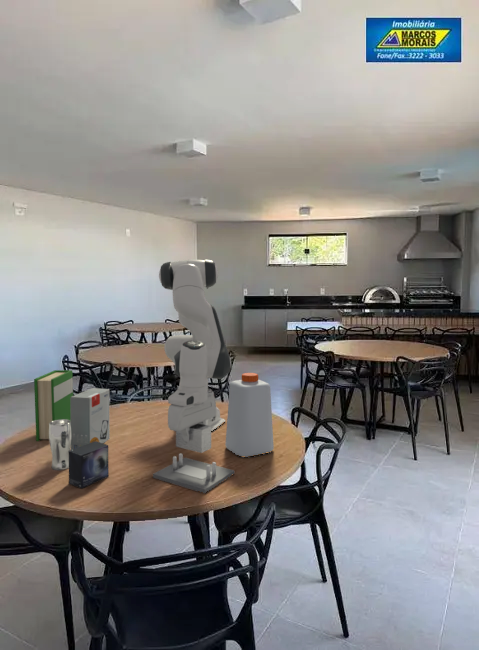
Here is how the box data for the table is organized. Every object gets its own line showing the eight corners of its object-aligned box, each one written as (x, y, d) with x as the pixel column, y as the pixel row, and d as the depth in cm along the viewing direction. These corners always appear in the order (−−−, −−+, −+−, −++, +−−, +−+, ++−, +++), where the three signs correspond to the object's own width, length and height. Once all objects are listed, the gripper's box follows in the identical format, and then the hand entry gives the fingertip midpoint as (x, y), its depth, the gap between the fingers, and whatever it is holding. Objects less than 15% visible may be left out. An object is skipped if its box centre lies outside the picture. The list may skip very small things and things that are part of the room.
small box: (82, 489, 134) (81, 455, 133) (67, 484, 137) (66, 450, 136) (110, 476, 143) (109, 444, 142) (95, 472, 146) (95, 440, 145)
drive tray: (185, 460, 156) (185, 446, 155) (234, 474, 145) (234, 458, 145) (152, 477, 142) (152, 461, 142) (204, 493, 132) (204, 476, 131)
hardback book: (55, 441, 174) (53, 379, 172) (36, 441, 174) (34, 379, 172) (73, 426, 191) (72, 370, 189) (56, 426, 192) (54, 370, 189)
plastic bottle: (278, 452, 164) (279, 376, 161) (241, 460, 156) (242, 380, 154) (256, 440, 177) (257, 368, 174) (221, 446, 170) (221, 372, 167)
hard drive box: (89, 453, 162) (88, 398, 160) (70, 451, 163) (68, 397, 162) (110, 438, 177) (109, 388, 175) (92, 437, 179) (91, 387, 177)
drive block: (186, 442, 147) (186, 420, 147) (211, 448, 142) (211, 425, 141) (175, 446, 143) (175, 424, 143) (201, 453, 138) (201, 430, 137)
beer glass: (77, 464, 152) (75, 420, 151) (62, 472, 146) (61, 426, 144) (60, 461, 154) (58, 418, 153) (45, 469, 148) (43, 424, 146)
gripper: (205, 386, 152) (205, 427, 153) (164, 399, 134) (164, 444, 136) (221, 389, 148) (220, 430, 149) (180, 402, 131) (180, 449, 132)
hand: (193, 437), depth 142 cm, fingers closed on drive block, 5 cm apart
